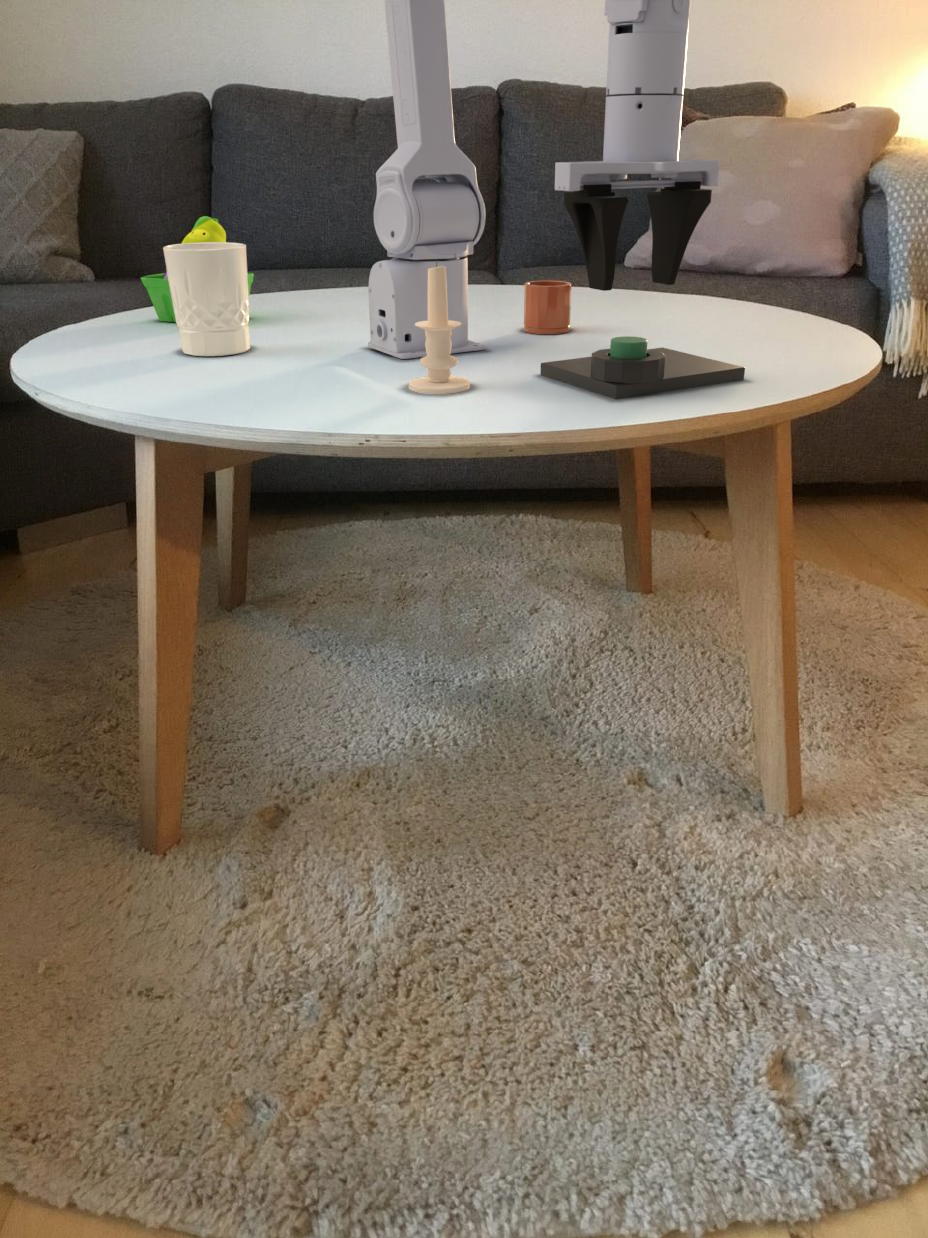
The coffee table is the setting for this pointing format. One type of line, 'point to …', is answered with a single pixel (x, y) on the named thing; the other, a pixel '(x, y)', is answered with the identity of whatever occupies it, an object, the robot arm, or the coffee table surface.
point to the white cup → (210, 296)
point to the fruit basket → (159, 283)
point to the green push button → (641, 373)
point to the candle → (438, 341)
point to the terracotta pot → (547, 307)
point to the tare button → (628, 347)
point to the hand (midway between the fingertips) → (632, 286)
